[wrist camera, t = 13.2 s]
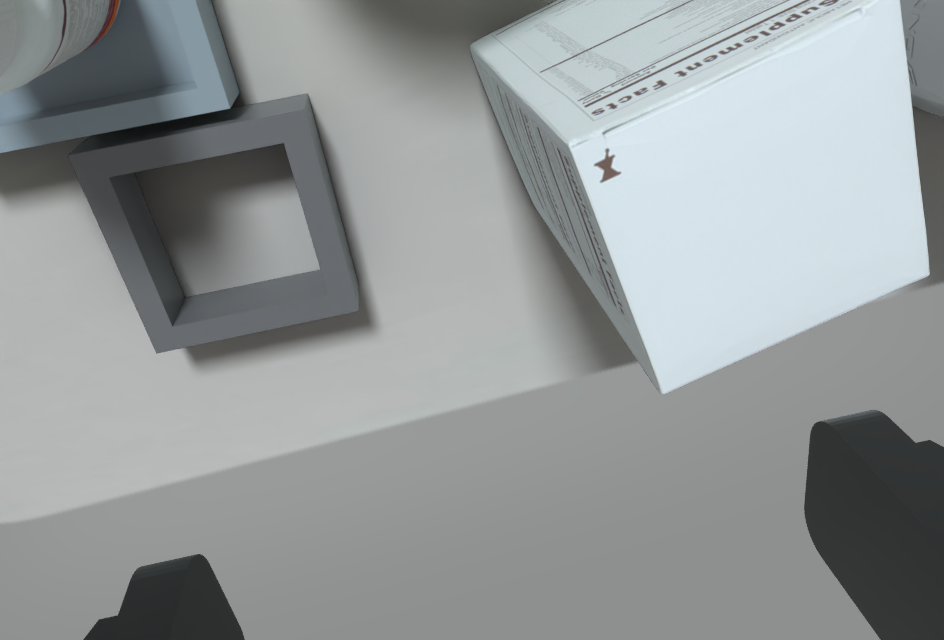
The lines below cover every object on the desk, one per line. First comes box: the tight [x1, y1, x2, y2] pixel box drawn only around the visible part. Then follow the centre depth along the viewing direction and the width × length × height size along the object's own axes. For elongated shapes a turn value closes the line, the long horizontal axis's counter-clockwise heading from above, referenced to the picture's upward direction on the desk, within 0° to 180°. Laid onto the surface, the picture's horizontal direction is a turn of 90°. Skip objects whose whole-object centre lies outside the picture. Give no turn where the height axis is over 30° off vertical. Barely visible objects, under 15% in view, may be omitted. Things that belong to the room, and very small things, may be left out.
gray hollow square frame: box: [68, 94, 359, 353], centre depth 34 cm, size 10×10×3 cm
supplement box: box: [470, 0, 930, 395], centre depth 28 cm, size 10×9×17 cm
